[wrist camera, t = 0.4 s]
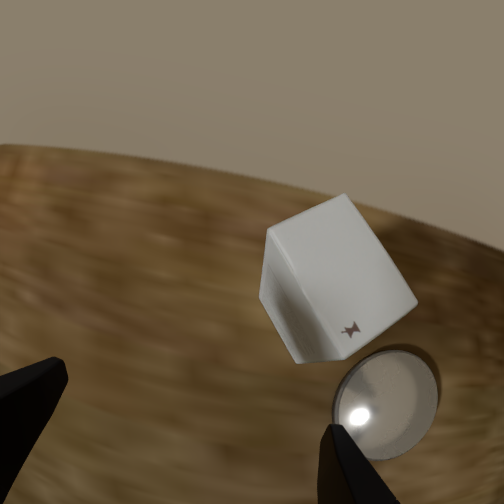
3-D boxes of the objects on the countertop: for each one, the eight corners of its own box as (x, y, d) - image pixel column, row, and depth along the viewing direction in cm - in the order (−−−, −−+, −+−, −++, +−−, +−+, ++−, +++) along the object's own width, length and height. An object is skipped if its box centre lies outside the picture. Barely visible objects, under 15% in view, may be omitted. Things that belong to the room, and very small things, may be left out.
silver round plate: (446, 410, 20) (454, 411, 19) (364, 477, 18) (369, 482, 17) (401, 328, 22) (407, 326, 21) (310, 394, 21) (313, 396, 20)
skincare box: (343, 336, 22) (423, 306, 11) (295, 364, 22) (341, 365, 10) (304, 269, 24) (346, 188, 13) (256, 295, 24) (261, 228, 12)
